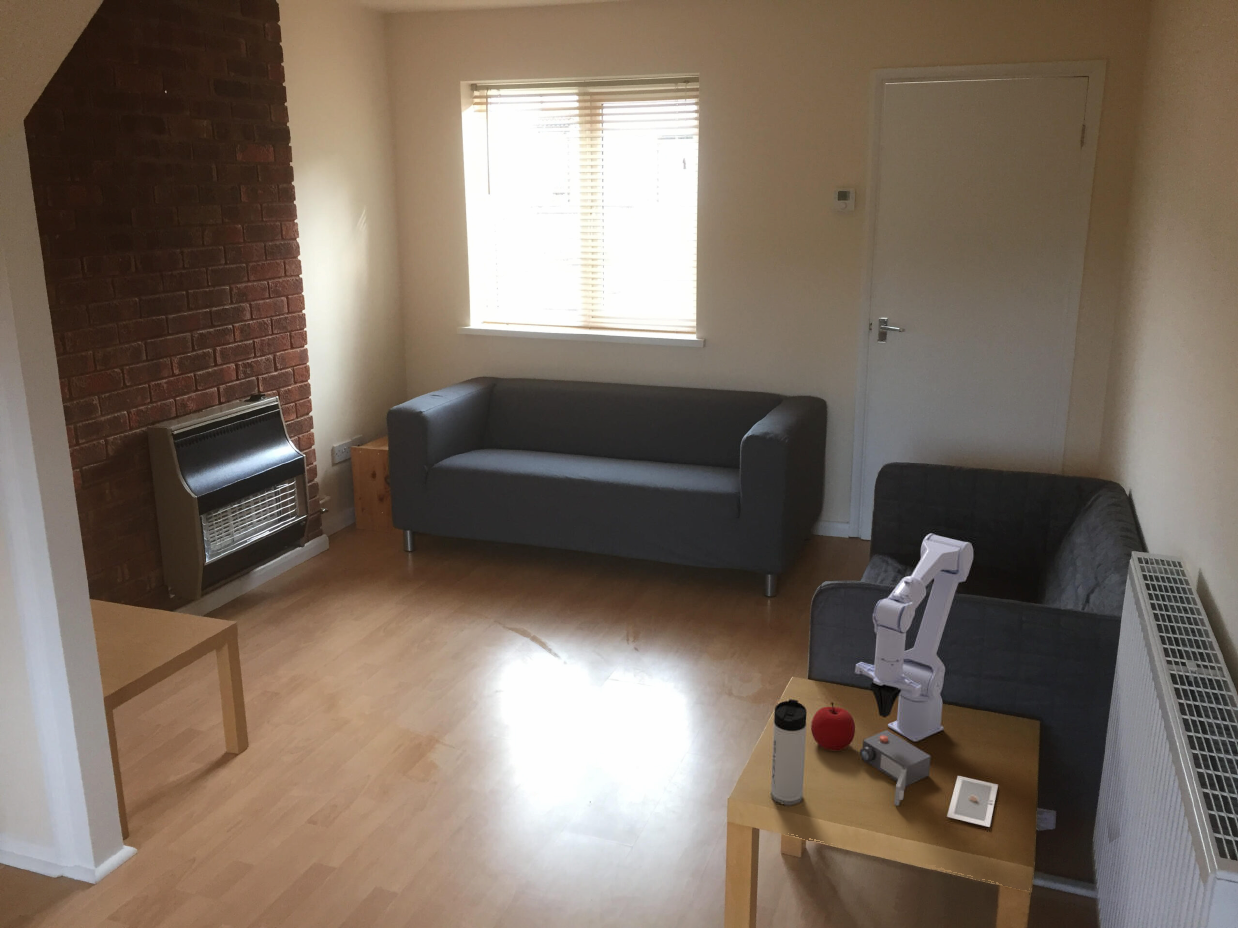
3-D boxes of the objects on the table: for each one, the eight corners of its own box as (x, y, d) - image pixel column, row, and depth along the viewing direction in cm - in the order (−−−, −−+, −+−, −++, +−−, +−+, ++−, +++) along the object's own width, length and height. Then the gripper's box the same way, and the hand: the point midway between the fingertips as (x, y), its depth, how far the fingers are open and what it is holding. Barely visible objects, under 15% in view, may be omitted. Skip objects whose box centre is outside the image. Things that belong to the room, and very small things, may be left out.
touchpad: (946, 821, 203) (947, 811, 202) (957, 780, 216) (958, 770, 215) (989, 831, 200) (990, 821, 199) (997, 789, 213) (998, 779, 212)
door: (901, 785, 213) (902, 765, 212) (909, 787, 213) (910, 767, 211) (893, 806, 207) (895, 785, 206) (901, 808, 206) (903, 787, 205)
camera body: (885, 748, 226) (886, 727, 225) (928, 775, 217) (930, 753, 215) (855, 761, 222) (857, 739, 220) (899, 789, 212) (901, 766, 211)
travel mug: (805, 789, 212) (809, 701, 207) (799, 808, 206) (804, 718, 201) (774, 783, 214) (778, 696, 209) (767, 802, 208) (771, 712, 203)
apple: (808, 753, 225) (811, 712, 222) (811, 731, 233) (813, 691, 230) (853, 759, 223) (855, 717, 220) (854, 736, 231) (857, 696, 228)
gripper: (848, 649, 218) (844, 708, 222) (910, 674, 208) (904, 734, 212) (867, 639, 223) (863, 697, 227) (929, 662, 213) (923, 722, 217)
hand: (884, 714), depth 220 cm, fingers closed
